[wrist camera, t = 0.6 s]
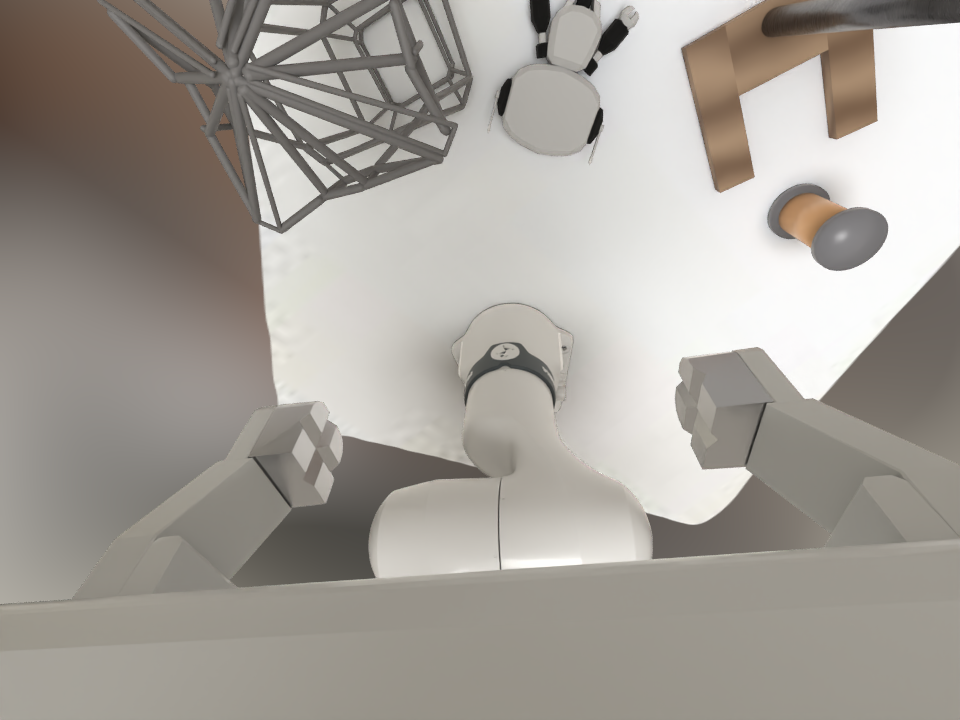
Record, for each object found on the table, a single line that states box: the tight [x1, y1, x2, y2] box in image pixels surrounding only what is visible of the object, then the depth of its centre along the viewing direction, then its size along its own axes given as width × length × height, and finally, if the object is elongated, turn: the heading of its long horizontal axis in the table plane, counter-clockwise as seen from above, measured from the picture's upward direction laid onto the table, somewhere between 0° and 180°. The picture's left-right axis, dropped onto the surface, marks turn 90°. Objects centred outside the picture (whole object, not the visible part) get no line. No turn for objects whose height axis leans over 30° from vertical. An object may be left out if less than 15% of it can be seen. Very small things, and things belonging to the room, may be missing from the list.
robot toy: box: [487, 0, 639, 165], centre depth 47 cm, size 12×4×15 cm
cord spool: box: [768, 184, 888, 271], centre depth 50 cm, size 6×6×11 cm
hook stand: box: [761, 0, 960, 37], centre depth 33 cm, size 12×2×30 cm, turn 29°
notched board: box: [681, 0, 877, 193], centre depth 46 cm, size 16×16×2 cm
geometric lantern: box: [97, 0, 473, 234], centre depth 34 cm, size 16×16×35 cm
